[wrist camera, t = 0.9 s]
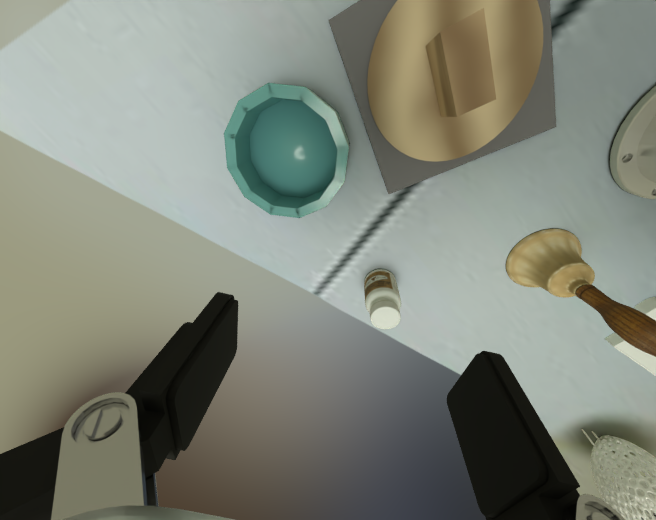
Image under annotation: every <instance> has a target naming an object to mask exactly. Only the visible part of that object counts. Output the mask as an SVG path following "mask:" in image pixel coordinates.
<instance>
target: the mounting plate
mask: <svg viewBox="0 0 656 520" xmlns="http://www.w3.org/2000/svg"><path fill="white" fill-rule="evenodd" d="M634 309H636V310H638V311H640V312H642V313H644V314H646V315H647V316H649V317H651V318H652V319H654V320H655V321H656V297H651V298H648V299H646V300H644V301H642V302H641V303H639V304H637V305H636V306H635V307H634ZM604 339H605V340H607V341H608V342H609V343H610V344H611V345H612V346H613V347H615V348H616V349H618V350H619V351H620V352H622V353H623V354H625V355H626V356H628V357H629V358H631V359H632V360H633V361H635V362H636V363H638V364H639V365H641V366H642V367H643V368H645V369H646V370H648V371H649V372H651V373H652V374H653V375H655V376H656V357H655V356H652V355H650V354H648V353H646V352H643V351H641V350H639V349H637V348H635V347H634V346H632V345H631V344H629V343H627V342H626V341H625V340H623V339H622V338H621V337H620V336H619V335H617V334H616V333H613V334H611V335H609V336H608V337H606V338H604Z"/></svg>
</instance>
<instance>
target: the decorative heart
mask: <svg viewBox="0 0 656 520" xmlns="http://www.w3.org/2000/svg"><path fill="white" fill-rule="evenodd" d="M581 430H582V431H583V432H584V434H585V435H586V437H587V438H588V439H589V441H590V442H591V444H592V445H593V449H592V453H591V469H592V473H593V477H594V481H595V483H596V486H597V488H598V490H599V492H600V494H601V496H602V498H603V500H604V502H606V503H607V504H609V505H610V506H612V507H613V508H614V509H615V510H616V511H617V512H618V513H619V514H621V515H622V516H623V518H624V519H625V520H642V519H641V517H642V518H643V519H644V520H656V517H655V516H654V515H653V513H655V514H656V457H654V456H653V455H651V454H650V453H649V452H647V451H645V450H644V449H642V448H640V447H639V446H637V445H635V444H633V443H631V442H629V441H626V440H624V439H621V438H618V437H614V436H609V435H604V436H601V437H599V438H598V437H597V435H596V434H595V433H594V432H593V431H591V432H592V433H593V434H594V436H595V437H596V438H597V440H596V442H595V444H594V443H593V442H592V440H591V439H590V437H589V436H588V435H587V433H586V432H585V431H584V430H583V429H581ZM617 442H618V443H619V444H617ZM609 445H610V446H611V447H609ZM627 446H628V447H629V448H628V447H627ZM601 448H602V449H601ZM612 451H615V454H613V452H612ZM598 452H599V453H598ZM630 452H632V453H633V454H635V455H636V456H634V455H631V454H630ZM605 453H607V454H605ZM638 453H639V454H640V455H642V456H643V457H642V456H640V455H639V454H638ZM603 455H604V456H605V457H604V456H603ZM618 455H619V457H618ZM624 455H626V456H627V457H625V456H624ZM612 458H613V459H615V460H616V461H615V460H613V459H612ZM648 461H649V462H650V463H649V462H648ZM642 462H644V463H646V464H647V465H648V466H646V465H645V464H643V463H642ZM631 463H632V464H633V466H632V465H631ZM617 465H619V466H620V468H618V467H617ZM640 465H641V466H640ZM601 466H602V468H603V471H601ZM627 468H628V469H627ZM608 469H609V471H607V470H608ZM615 470H616V471H615ZM613 471H614V472H615V473H616V474H618V475H615V474H614V472H613ZM640 471H642V472H644V473H645V474H646V476H642V475H641V474H640ZM648 471H650V472H651V473H652V474H653V475H654V477H653V476H651V475H649V474H648ZM634 473H635V474H636V475H637V476H638V478H637V477H636V476H635V474H634ZM632 474H633V475H632ZM605 477H606V478H605ZM612 477H614V481H615V482H614V483H613V482H612V481H611V478H612ZM606 479H607V480H606ZM652 481H653V482H652ZM610 484H611V486H612V488H611V487H610ZM618 485H619V487H618ZM623 486H624V487H623ZM608 489H609V490H610V492H611V495H610V493H609V490H608ZM620 495H621V496H622V497H623V498H622V497H621V496H620ZM616 496H617V497H618V498H617V497H616ZM621 502H622V504H623V505H622V504H621ZM637 502H639V503H640V504H641V506H640V505H639V504H638V503H637ZM631 504H632V505H633V506H634V507H635V508H634V507H633V506H632V505H631ZM629 507H630V508H629ZM622 509H623V510H622ZM646 510H647V511H648V512H649V513H650V514H649V513H647V511H646ZM623 511H624V512H625V513H626V514H625V513H624V512H623ZM642 511H643V513H642ZM645 513H646V514H645ZM635 516H636V517H637V519H636V518H635Z"/></svg>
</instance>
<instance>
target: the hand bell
mask: <svg viewBox="0 0 656 520" xmlns="http://www.w3.org/2000/svg"><path fill="white" fill-rule="evenodd" d="M581 253H582V250H581V245H580V242H579V240H578V238H577V237H576V236H575V235H574V234H572V233H571V232H569V231H566V230H562V229H546V230H541V231H538V232H535V233H533V234H531V235H529V236H527V237H525V238H524V239H522V240H521V241H520V242H519V243H517V245H516V246H515V247H514V248H513V249H512V250H511V252H510V254H509V255H508V258H507V262H506V271H507V274H508V276H509V277H510V278H511V279H512V280H513V281H514V282H515V283H517V284H520V285H523V286H527V287H542V288H543V289H545V290H547V291H548V292H550V293H551V294H553V295H555V296H558V297H572V296H577V297H578V298H580V299H582V300H583V301H584V302H586V303H587V304H589V305H590V306H592V307H593V308H594V309H596V310H597V311H598V312H599V313H600V314H601V316H602V317H603V319H604V320H605V322H606V323H607V324H608V326H609V327H610V328H611V329H612V330H613V331H614V332H615V333H616V334H617V335H619V336H620V337H621V338H622V339H623V340H625V341H626V342H627V343H629V344H631V345H632V346H634V347H635V348H637V349H639V350H641V351H643V352H646V353H648V354H650V355H652V356H655V357H656V321H655V320H654V319H652V318H651V317H649V316H647V315H646V314H644V313H642V312H640V311H638V310H636V309H634V308H631V307H629V306H626V305H623V304H620V303H618V302H616V301H614V300H612V299H610V298H609V297H608V296H606V295H605V294H604V293H602V292H601V291H600V290H598V289H597V288H596V287H595V286H593V285H591V284H592V283H593V281H594V277H595V275H594V271H593V269H592V268H591V267H590V266H589V265H588V264H587V263H585V262H584V261H583V260H582V258H581Z"/></svg>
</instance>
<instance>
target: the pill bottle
mask: <svg viewBox="0 0 656 520" xmlns="http://www.w3.org/2000/svg"><path fill="white" fill-rule="evenodd" d="M364 287H365V305H366V308H367V310H368V312H369V313H370V318H371V322H372V324H373V325H374V326H376V327H377V328H380V329H390V328H393V327H395V326H396V325H397V324H398V323H399V322H400V318H401V317H400V311H399V309H400V307H401V299H400V295H399V291H398V287H397V283H396V279H395V277H394V275H393V274H392V273H391V272H389V271H387V270H383V269H377V270H374V271H372V272H370V273H369V274H368V275H367V276H366V278H365V282H364Z"/></svg>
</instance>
